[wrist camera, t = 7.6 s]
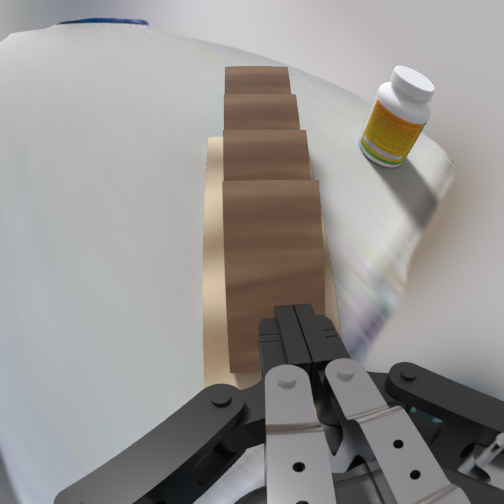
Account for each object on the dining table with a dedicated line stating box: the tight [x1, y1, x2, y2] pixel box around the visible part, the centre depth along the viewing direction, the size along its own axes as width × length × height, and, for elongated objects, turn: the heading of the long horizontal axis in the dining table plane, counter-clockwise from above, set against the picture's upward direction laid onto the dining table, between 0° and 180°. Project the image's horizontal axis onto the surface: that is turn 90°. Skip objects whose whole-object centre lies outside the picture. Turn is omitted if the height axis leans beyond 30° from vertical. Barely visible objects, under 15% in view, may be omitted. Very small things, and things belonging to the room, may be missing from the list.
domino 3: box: [223, 129, 311, 181], centre depth 18 cm, size 2×6×11 cm
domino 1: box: [225, 66, 291, 94], centre depth 22 cm, size 2×6×11 cm
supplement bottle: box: [359, 66, 435, 167], centre depth 22 cm, size 5×5×10 cm
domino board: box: [203, 137, 341, 413], centre depth 20 cm, size 24×9×1 cm, turn 3°
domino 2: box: [224, 94, 300, 130], centre depth 20 cm, size 2×6×11 cm
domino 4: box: [222, 180, 325, 373], centre depth 17 cm, size 2×6×11 cm
